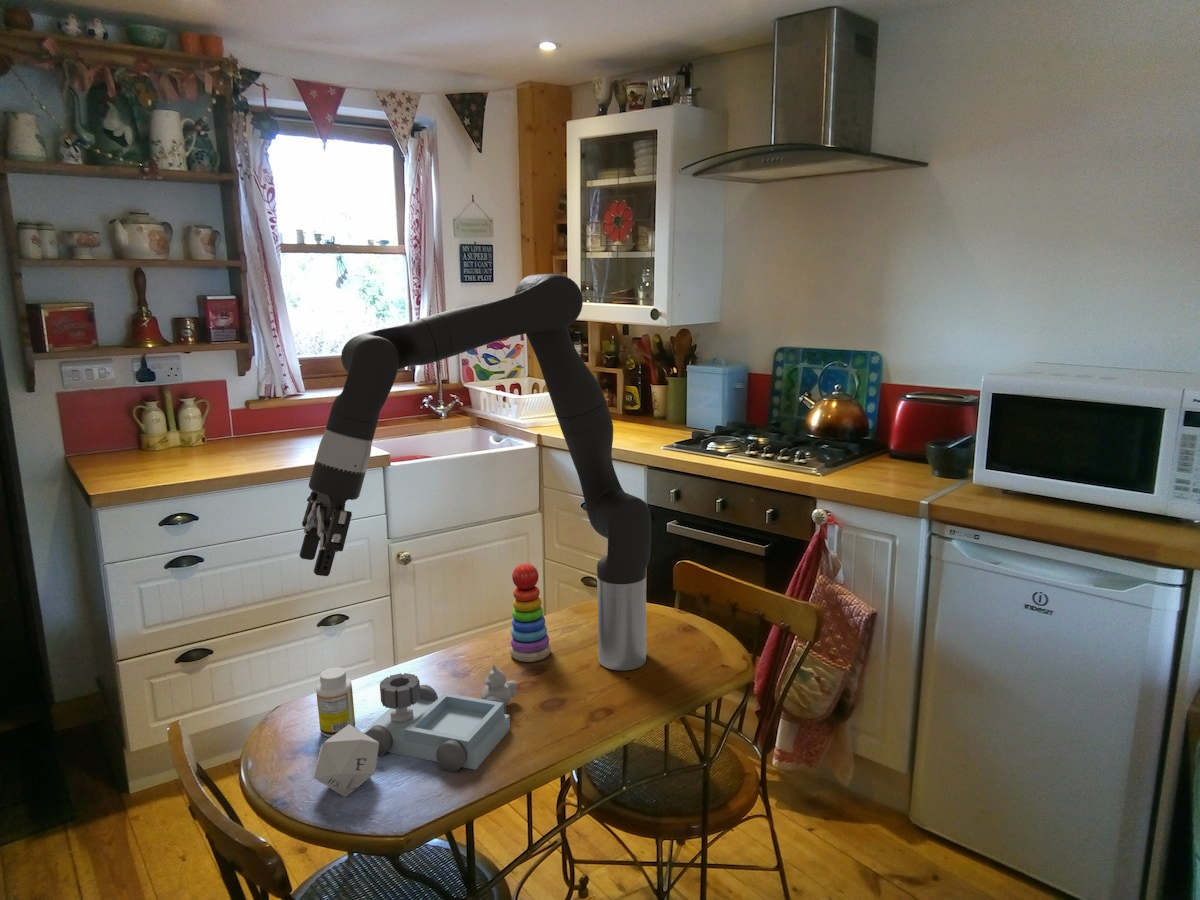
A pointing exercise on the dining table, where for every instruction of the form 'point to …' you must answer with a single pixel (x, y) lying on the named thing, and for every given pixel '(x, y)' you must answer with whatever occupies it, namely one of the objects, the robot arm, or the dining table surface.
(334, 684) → the supplement bottle
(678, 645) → the dining table surface
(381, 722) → the chassis
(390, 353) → the robot arm
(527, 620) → the stacking toy
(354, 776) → the die
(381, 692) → the spare wheel
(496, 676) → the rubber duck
